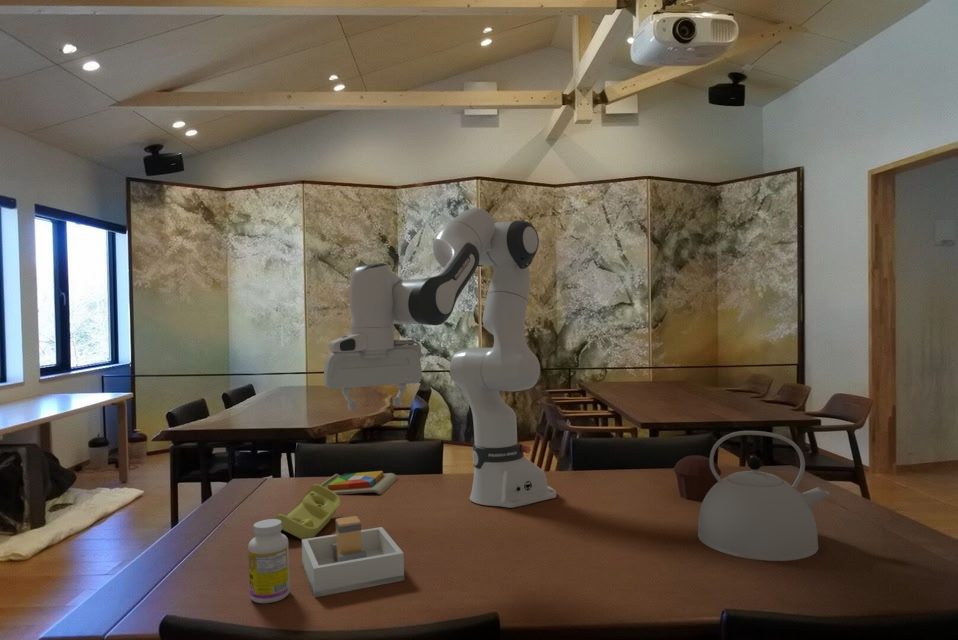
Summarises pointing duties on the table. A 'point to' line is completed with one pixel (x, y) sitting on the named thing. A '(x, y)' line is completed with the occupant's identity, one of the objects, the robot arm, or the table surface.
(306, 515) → the plastic component
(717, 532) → the kettle
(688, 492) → the muffin
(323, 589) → the walled box
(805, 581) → the table surface
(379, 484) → the wooden puzzle
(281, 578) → the supplement bottle
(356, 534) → the tan tall block
